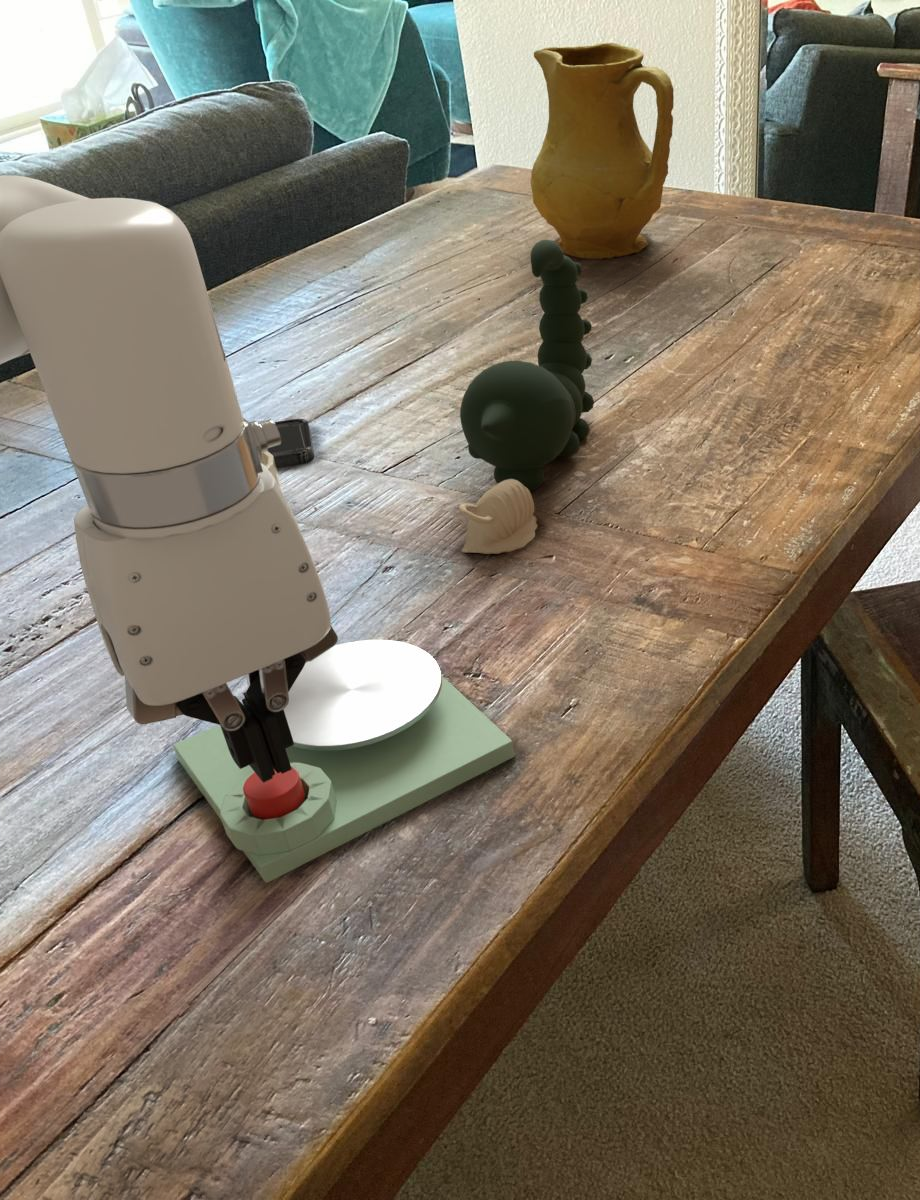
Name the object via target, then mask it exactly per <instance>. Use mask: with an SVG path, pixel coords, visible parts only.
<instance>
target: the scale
mask: <svg viewBox="0 0 920 1200" xmlns="http://www.w3.org/2000/svg"><path fill="white" fill-rule="evenodd" d="M172 747H173V750H174V752H175V755H176V757H177V760H178V762H179V763H180V765H181V766H182V767H183V769H184V771H185V772H186V773H187V774H188V776H189V777H190V779H191V780H192V782H193V783H194V784H195V786H196V787H197V789H198V790H199V791H200V793H201V794H202V795H203V797H204V798H205V800H206V801H207V802H208V804H209V805H210V807H211V809H213V811H214V813H215V814H216V816H217V817H218V818H219V819H220V821H221V823H222V825H223V829H224V832H225V834H226V836H227V837H228V839H229V840H230V842H231V843H232V845H233V846H234V847H235V848H236V849H237V850H239V851H242V852H243V853H244V855H245V856H246V857H247V859H248V860H249V861H250V863H251V864H252V866H253V867H254V869H255V870H256V871H257V873H258V874H259V876H260V877H261V878H262V881H264V883H266V884H267V883H270V882H271V881H273V880H276V879H278V878H279V877H281V876H283V875H285V874H287V873H289V872H291V871H293V870H295V869H296V868H299V867H301V866H303V865H305V864H306V863H310V861H313V860H315V859H316V858H318V857H320V856H322V855H324V854H326V853H328V852H330V851H332V850H335V849H336V848H338V847H340V846H342V845H344V844H346V843H349V842H350V841H352V840H354V839H356V838H358V837H359V836H362V835H364V834H366V833H367V832H369V831H371V830H373V829H375V828H377V827H379V826H382V825H384V824H385V823H387V822H390V821H391V820H393V819H396V818H397V817H399V816H401V815H403V814H405V813H407V812H408V811H410V810H411V811H412V809H415V808H417V807H418V806H421V805H423V804H424V803H426V802H428V801H431V800H433V799H434V798H436V797H438V796H440V795H442V794H444V793H446V792H448V791H451V790H452V789H454V788H456V787H458V786H460V785H462V784H464V783H466V782H468V781H469V780H472V779H473V778H476V777H477V776H479V775H481V774H483V773H485V772H487V771H490V770H491V769H493V768H495V767H497V766H499V765H501V764H503V763H505V762H507V761H508V760H511V759H512V758H515V757H516V754H515V753H516V752H515V747H514V742H513V740H512V739H511V738H510V737H509V736H508V735H506V733H504V732H503V731H502V730H501V729H500V728H499V727H498V726H497V725H496V724H495V723H494V722H493V721H491V719H489V717H487V716H486V715H485V714H484V713H483V712H482V711H481V710H480V709H479V708H478V707H476V705H474V704H473V703H472V702H471V701H470V700H469V699H468V698H467V697H466V696H465V695H464V694H462V693H461V692H460V691H459V689H457V688H456V687H454V685H453V684H452V683H450V681H448V680H447V679H446V677H444V676H443V675H442V687H441V691H440V694H439V697H438V699H437V700H436V702H435V704H434V705H433V706H432V707H431V709H430V710H429V711H428V712H427V713H426V714H425V715H424V716H423V717H422V718H421V719H419V720H418V721H417V722H416V723H414V724H413V725H411V726H410V727H408V728H407V729H405V730H403V731H401V732H400V733H398V734H396V735H394V736H391V737H389V738H387V739H384V740H382V741H379V742H376V743H373V744H370V745H366V746H362V747H358V748H352V749H346V750H336V751H317V750H307V749H302V748H297V747H294V746H290V747H288V748H286V752H287V755H288V758H289V762H290V765H291V767H293V768H295V769H296V770H297V771H298V773H299V776H300V779H301V783H302V786H303V789H304V792H305V797H304V801H303V803H302V804H301V805H300V807H299V808H298V809H296V810H295V811H293V812H291V813H289V814H286V815H284V816H282V817H280V818H273V819H260V818H257V817H255V816H254V815H253V814H252V813H251V812H250V809H249V806H248V804H247V801H246V798H245V795H244V792H243V786H244V783H245V781H246V780H247V779H248V778H249V777H250V776H251V775H252V774H253V773H255V772H254V770H253V769H252V768H251V767H250V765H248V766H246V767H244V768H242V769H240V768H239V767H238V766H237V764H236V763H235V762H234V760H233V758H232V756H231V754H230V752H229V749H228V746H227V743H226V740H225V737H224V735H223V732H222V729H221V726H220V725H218V724H217V725H216V726H213V727H210V728H208V729H206V730H203V731H202V732H199V733H197V734H194V735H191V736H189V737H187V738H185V739H183V740H180V741H178V742H175V743H173V744H172Z"/></svg>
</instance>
